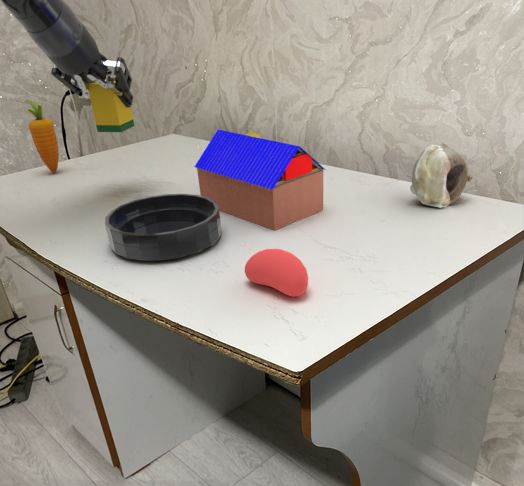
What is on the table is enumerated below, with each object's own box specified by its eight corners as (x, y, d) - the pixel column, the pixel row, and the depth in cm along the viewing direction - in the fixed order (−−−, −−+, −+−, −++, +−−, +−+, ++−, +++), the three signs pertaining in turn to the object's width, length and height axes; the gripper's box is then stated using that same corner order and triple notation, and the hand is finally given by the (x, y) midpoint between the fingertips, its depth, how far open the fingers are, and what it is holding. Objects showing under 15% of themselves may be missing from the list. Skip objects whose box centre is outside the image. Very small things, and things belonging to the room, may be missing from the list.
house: (248, 186, 103) (243, 122, 97) (326, 209, 91) (326, 137, 84) (199, 204, 97) (190, 136, 90) (274, 231, 84) (270, 155, 78)
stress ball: (284, 278, 74) (259, 241, 71) (325, 277, 66) (298, 235, 64) (260, 302, 72) (233, 266, 70) (299, 304, 65) (270, 263, 62)
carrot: (66, 174, 119) (47, 100, 110) (43, 177, 117) (21, 103, 109) (64, 168, 123) (45, 97, 114) (42, 172, 121) (21, 100, 113)
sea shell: (412, 219, 91) (396, 165, 86) (423, 195, 96) (409, 142, 91) (470, 209, 86) (457, 150, 80) (478, 184, 91) (466, 127, 86)
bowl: (110, 271, 76) (103, 242, 73) (112, 228, 90) (106, 202, 87) (229, 254, 78) (226, 224, 76) (213, 214, 92) (210, 188, 90)
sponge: (121, 132, 97) (111, 83, 92) (97, 132, 98) (86, 84, 94) (134, 126, 101) (126, 79, 96) (111, 125, 102) (102, 79, 98)
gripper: (105, 10, 81) (155, 84, 97) (27, 15, 85) (87, 85, 101) (95, 55, 80) (147, 122, 96) (16, 57, 84) (78, 121, 100)
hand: (116, 102), depth 99 cm, fingers closed on sponge, 5 cm apart
